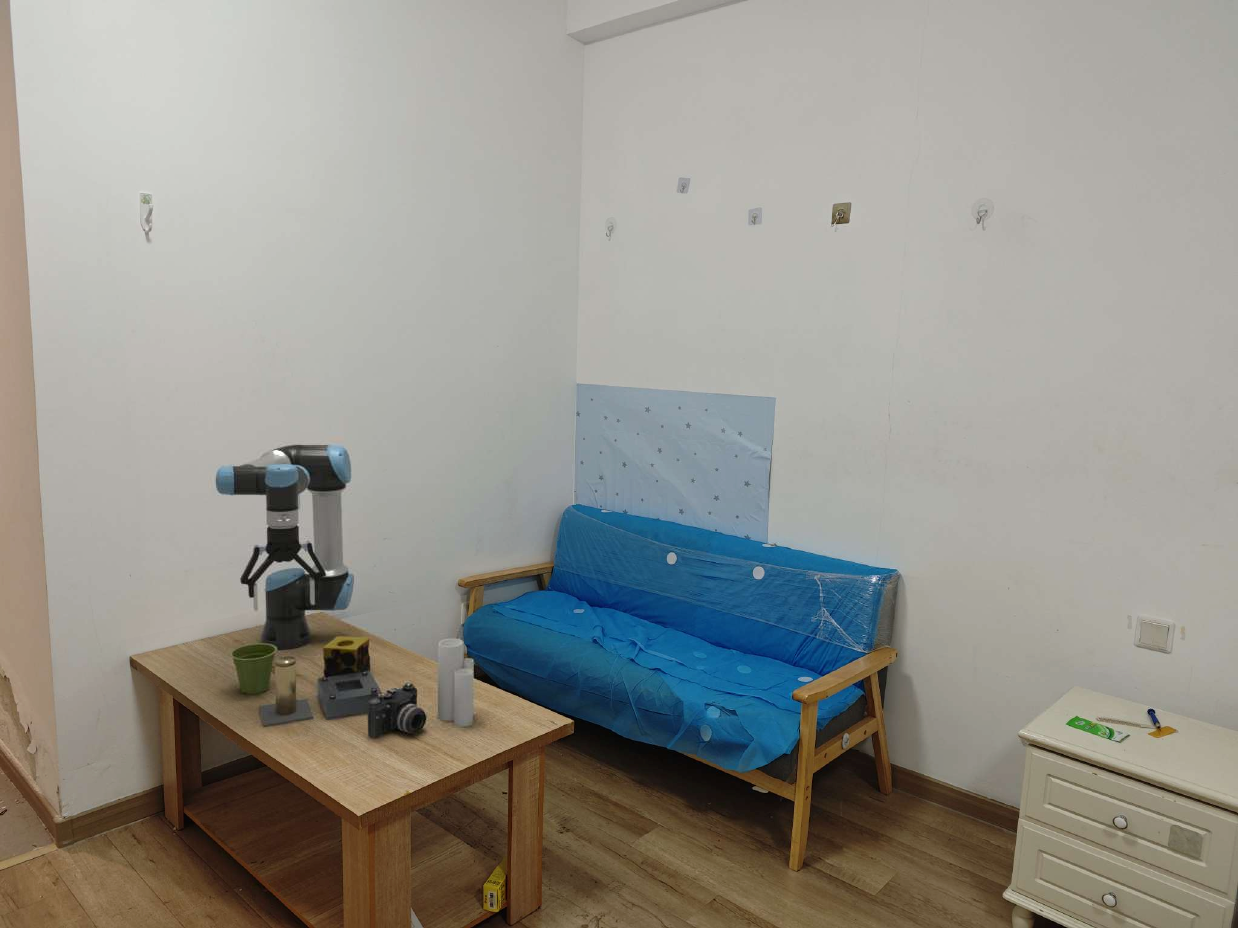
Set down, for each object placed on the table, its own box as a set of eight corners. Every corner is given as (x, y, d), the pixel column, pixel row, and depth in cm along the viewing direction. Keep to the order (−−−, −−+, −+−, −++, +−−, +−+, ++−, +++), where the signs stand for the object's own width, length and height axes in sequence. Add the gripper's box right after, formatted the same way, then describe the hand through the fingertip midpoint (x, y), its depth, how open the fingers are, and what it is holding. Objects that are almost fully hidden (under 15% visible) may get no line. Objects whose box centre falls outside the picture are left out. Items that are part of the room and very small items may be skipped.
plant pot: (224, 688, 228) (223, 650, 226) (266, 677, 237) (265, 640, 235) (242, 702, 220) (241, 662, 218) (285, 690, 229) (284, 651, 227)
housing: (317, 695, 226) (317, 676, 225) (369, 687, 232) (369, 668, 232) (326, 719, 212) (326, 699, 211) (382, 710, 218) (382, 690, 218)
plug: (274, 708, 216) (273, 657, 214) (295, 705, 218) (294, 654, 216) (276, 716, 211) (275, 664, 209) (297, 713, 214) (297, 661, 212)
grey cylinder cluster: (432, 716, 216) (432, 643, 213) (451, 707, 222) (451, 636, 219) (464, 728, 210) (465, 653, 207) (483, 718, 216) (484, 645, 213)
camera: (393, 747, 199) (393, 708, 197) (363, 735, 205) (363, 697, 203) (436, 726, 211) (436, 689, 209) (406, 714, 217) (406, 678, 215)
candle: (371, 669, 245) (370, 637, 244) (357, 682, 236) (356, 649, 234) (338, 667, 246) (337, 635, 245) (323, 680, 236) (322, 647, 235)
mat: (258, 708, 217) (258, 705, 217) (307, 700, 223) (307, 698, 223) (263, 727, 207) (263, 724, 206) (313, 718, 212) (313, 716, 212)
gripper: (229, 532, 199) (231, 616, 202) (336, 525, 211) (337, 604, 214) (227, 525, 206) (230, 607, 209) (331, 519, 218) (332, 596, 221)
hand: (284, 606), depth 211 cm, fingers open, 13 cm apart
